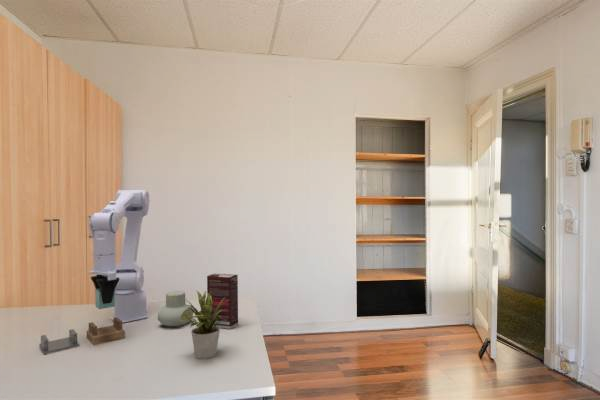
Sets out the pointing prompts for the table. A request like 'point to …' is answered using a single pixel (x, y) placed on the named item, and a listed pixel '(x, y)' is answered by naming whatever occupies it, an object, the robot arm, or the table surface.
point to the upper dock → (105, 332)
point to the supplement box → (224, 298)
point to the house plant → (204, 327)
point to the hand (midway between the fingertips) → (104, 301)
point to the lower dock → (59, 343)
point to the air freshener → (175, 310)
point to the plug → (99, 302)
